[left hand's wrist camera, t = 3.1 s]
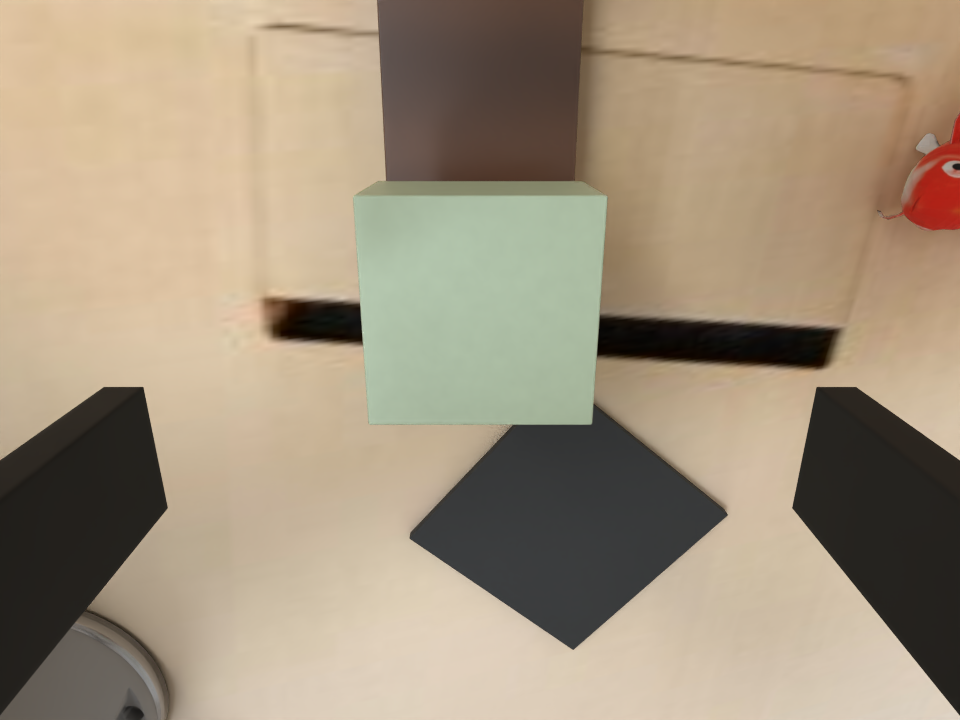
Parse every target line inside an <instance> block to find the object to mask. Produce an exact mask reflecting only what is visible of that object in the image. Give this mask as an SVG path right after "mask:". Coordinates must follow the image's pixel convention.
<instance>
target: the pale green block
mask: <svg viewBox="0 0 960 720" xmlns="http://www.w3.org/2000/svg"><path fill="white" fill-rule="evenodd" d="M607 200H608V197H607V195H605V194H603V193H602V192H600V191H598V190H596V189H595V188H593V187H591V186H590V185H588V184H586V183H585V182H583V181H378V182H376V183H374V184H373V185H371V186H369V187H368V188H366V189H364V190H363V191H361V192H359V193H358V194H356V195H354V196H353V204H354V218H355V233H356V248H357V262H358V277H359V291H360V306H361V321H362V335H363V350H364V364H365V379H366V393H367V408H368V423H369V424H370V425H591V424H592V417H593V403H594V388H595V374H596V359H597V345H598V330H599V316H600V301H601V287H602V272H603V258H604V243H605V229H606V214H607Z"/></svg>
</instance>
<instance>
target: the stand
mask: <svg viewBox="0 0 960 720" xmlns="http://www.w3.org/2000/svg"><path fill="white" fill-rule="evenodd" d="M377 7H378V27H379V46H380V66H381V86H382V106H383V126H384V146H385V166H386V181H574V178H575V158H576V138H577V119H578V99H579V79H580V59H581V39H582V20H583V0H377Z"/></svg>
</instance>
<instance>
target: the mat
mask: <svg viewBox="0 0 960 720" xmlns="http://www.w3.org/2000/svg"><path fill="white" fill-rule="evenodd" d="M726 516H727V513H726V511H725V510H724V509H723V508H722V507H721V506H719V505H718V504H717V503H716V502H714V501H713V500H712V499H711V498H709V497H708V496H707V495H706V494H704V493H703V492H702V491H701V490H700V489H698V488H697V487H696V486H695V485H693V484H692V483H691V482H690V481H688V480H687V479H686V478H685V477H683V476H682V475H681V474H680V473H678V472H677V471H676V470H675V469H674V468H672V467H671V466H670V465H669V464H667V463H666V462H665V461H664V460H662V459H661V458H660V457H659V456H657V455H656V454H655V453H654V452H652V451H651V450H650V449H649V448H648V447H646V446H645V445H644V444H643V443H641V442H640V441H639V440H638V439H636V438H635V437H634V436H633V435H631V434H630V433H629V432H628V431H626V430H625V429H624V428H623V427H622V426H620V425H619V424H618V423H617V422H615V421H614V420H613V419H612V418H610V417H609V416H608V415H607V414H605V413H604V412H603V411H602V410H600V409H599V408H598V407H597V406H596V405H594V404H593V417H592V424H591V425H513V426H512V427H511V428H510V429H509V430H508V431H507V432H506V433H505V434H504V435H503V436H502V437H501V438H500V440H499V441H498V442H497V443H496V444H495V445H494V446H493V447H492V448H491V449H490V450H489V451H488V452H487V453H486V454H485V455H484V456H483V457H482V458H481V459H480V461H479V462H478V463H477V464H476V465H475V466H474V467H473V468H472V469H471V470H470V471H469V472H468V473H467V474H466V475H465V476H464V477H463V478H462V479H461V480H460V482H459V483H458V484H457V485H456V486H455V487H454V488H453V489H452V490H451V491H450V492H449V493H448V494H447V495H446V496H445V497H444V498H443V499H442V500H441V501H440V503H439V504H438V505H437V506H436V507H435V508H434V509H433V510H432V511H431V512H430V513H429V514H428V515H427V516H426V517H425V518H424V519H423V520H422V521H421V522H420V524H419V525H418V526H417V527H416V528H415V529H414V530H413V531H412V532H411V533H410V539H411V540H413V541H414V542H415V543H417V544H418V545H420V546H421V547H423V548H424V549H426V550H427V551H429V552H430V553H432V554H433V555H435V556H436V557H438V558H439V559H440V560H442V561H443V562H445V563H446V564H448V565H449V566H451V567H452V568H454V569H455V570H457V571H458V572H460V573H461V574H463V575H464V576H465V577H467V578H468V579H470V580H471V581H473V582H474V583H476V584H477V585H479V586H480V587H482V588H483V589H485V590H486V591H487V592H489V593H490V594H492V595H493V596H495V597H496V598H498V599H499V600H501V601H502V602H504V603H505V604H507V605H508V606H510V607H511V608H512V609H514V610H515V611H517V612H518V613H520V614H521V615H523V616H524V617H526V618H527V619H529V620H530V621H532V622H533V623H534V624H536V625H537V626H539V627H540V628H542V629H543V630H545V631H546V632H548V633H549V634H551V635H552V636H554V637H555V638H557V639H558V640H559V641H561V642H562V643H564V644H565V645H567V646H568V647H570V648H571V649H573V650H574V649H575V648H576V647H577V646H578V645H579V644H580V643H582V642H583V641H584V640H585V639H586V638H587V637H589V636H590V635H591V634H592V633H593V632H594V631H595V630H597V629H598V628H599V627H600V626H601V625H602V624H603V623H605V622H606V621H607V620H608V619H609V618H610V617H611V616H613V615H614V614H615V613H616V612H617V611H618V610H619V609H621V608H622V607H623V606H624V605H625V604H626V603H628V602H629V601H630V600H631V599H632V598H633V597H634V596H636V595H637V594H638V593H639V592H640V591H641V590H642V589H644V588H645V587H646V586H647V585H648V584H649V583H650V582H652V581H653V580H654V579H655V578H656V577H657V576H658V575H660V574H661V573H662V572H663V571H664V570H665V569H667V568H668V567H669V566H670V565H671V564H672V563H673V562H675V561H676V560H677V559H678V558H679V557H680V556H681V555H683V554H684V553H685V552H686V551H687V550H688V549H689V548H691V547H692V546H693V545H694V544H695V543H696V542H697V541H699V540H700V539H701V538H702V537H703V536H704V535H706V534H707V533H708V532H709V531H710V530H711V529H712V528H714V527H715V526H716V525H717V524H718V523H719V522H720V521H722V520H723V519H724V518H725V517H726Z"/></svg>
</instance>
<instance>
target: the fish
mask: <svg viewBox="0 0 960 720" xmlns="http://www.w3.org/2000/svg"><path fill="white" fill-rule="evenodd" d="M916 150H918V151H920V152H922V153H925V154H926V155H925V156H924V157H923V158H921V160H920V161H919V162H918V163H917V164H916V166H915V167H914V168H913V169H912V171H911V173H910V174H909V176H908V178H907V181H906V183H905V186H904V190H903V193H902V196H901V205H902V210H903V212H901V213H900V214H898V215H892V216H885V217H884V215H883V214H882V213H881V211H878V210H877V211H878V213H879V216H880V217H881V218H886V219H891V218H895V217H899V216H903V215H905V216H906V217H907V218H908V219H909V220H910V221H912V222H913V223H914V224H915V225H916V226H917V227H919V228H921V229H923V230H927V231H932V230H939V229H948V230H955V229H959V228H960V113H959V114H958V116H957V118H956V120H955V122H954V127H953V131H952V136H951V140H950V141H948V142H947V143H945V144H943V145H941V146H940V145H939V144H938V141H937V139H936V137H935V135H934V134H930V133H928V134H926V135H925V136H924V137H923V138H922V140H921V141H920V142H919V144H918V145H917V146H916Z"/></svg>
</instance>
